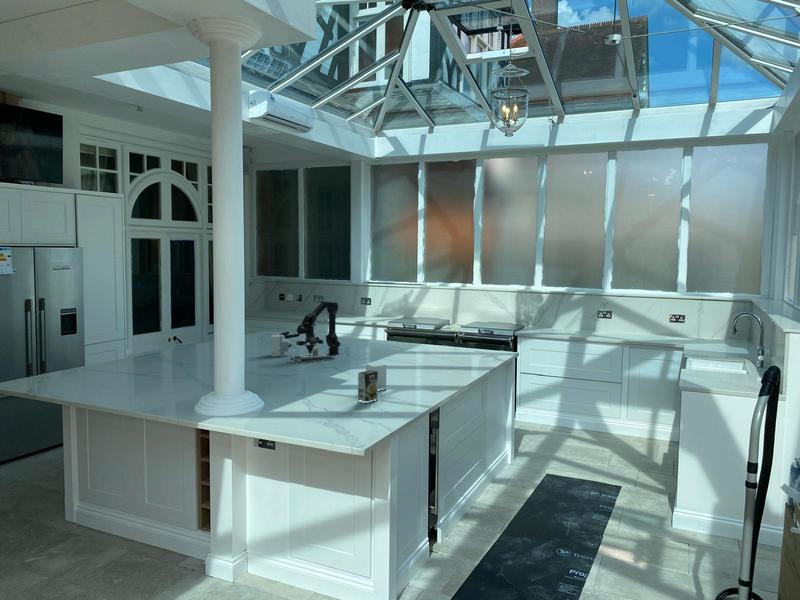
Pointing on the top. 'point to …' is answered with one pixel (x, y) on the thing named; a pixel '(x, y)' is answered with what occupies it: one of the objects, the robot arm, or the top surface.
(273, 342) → the circuit breaker
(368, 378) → the coffee box
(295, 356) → the gray flat tray
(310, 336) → the robot arm
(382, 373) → the supplement box
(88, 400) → the top surface
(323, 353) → the breaker panel
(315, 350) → the breaker lever
